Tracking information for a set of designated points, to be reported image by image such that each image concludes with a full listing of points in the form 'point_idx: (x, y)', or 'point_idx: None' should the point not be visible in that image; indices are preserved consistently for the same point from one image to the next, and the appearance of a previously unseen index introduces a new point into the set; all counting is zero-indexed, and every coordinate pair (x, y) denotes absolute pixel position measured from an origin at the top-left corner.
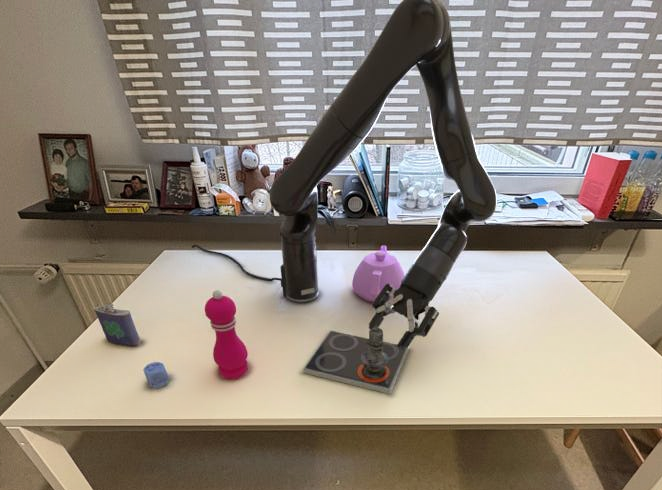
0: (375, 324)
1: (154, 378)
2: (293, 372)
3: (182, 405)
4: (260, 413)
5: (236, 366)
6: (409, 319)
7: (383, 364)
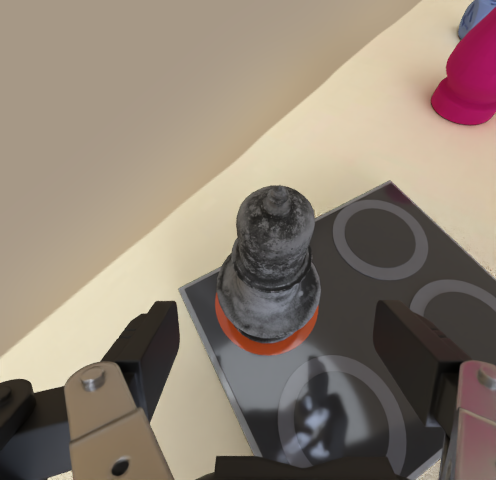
0: (393, 333)
1: (471, 11)
2: (398, 175)
3: (399, 43)
4: (316, 95)
5: (446, 72)
6: (117, 417)
7: (220, 282)
